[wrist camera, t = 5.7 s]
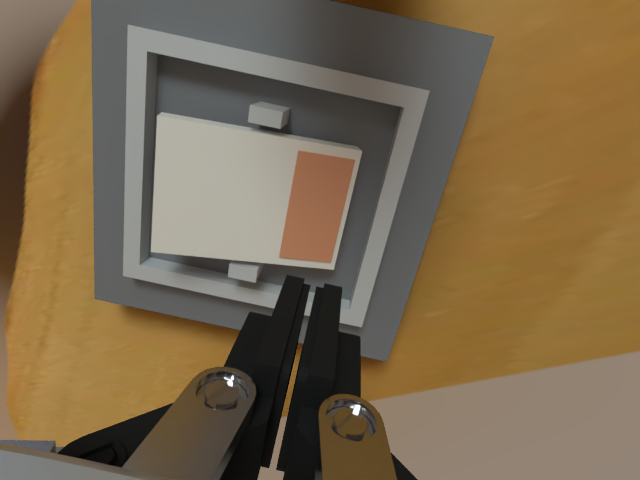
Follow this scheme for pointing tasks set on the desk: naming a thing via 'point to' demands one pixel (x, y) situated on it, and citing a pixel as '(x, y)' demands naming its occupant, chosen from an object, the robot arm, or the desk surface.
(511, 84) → the desk surface
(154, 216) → the rocker switch
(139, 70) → the switch plate
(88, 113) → the desk surface
